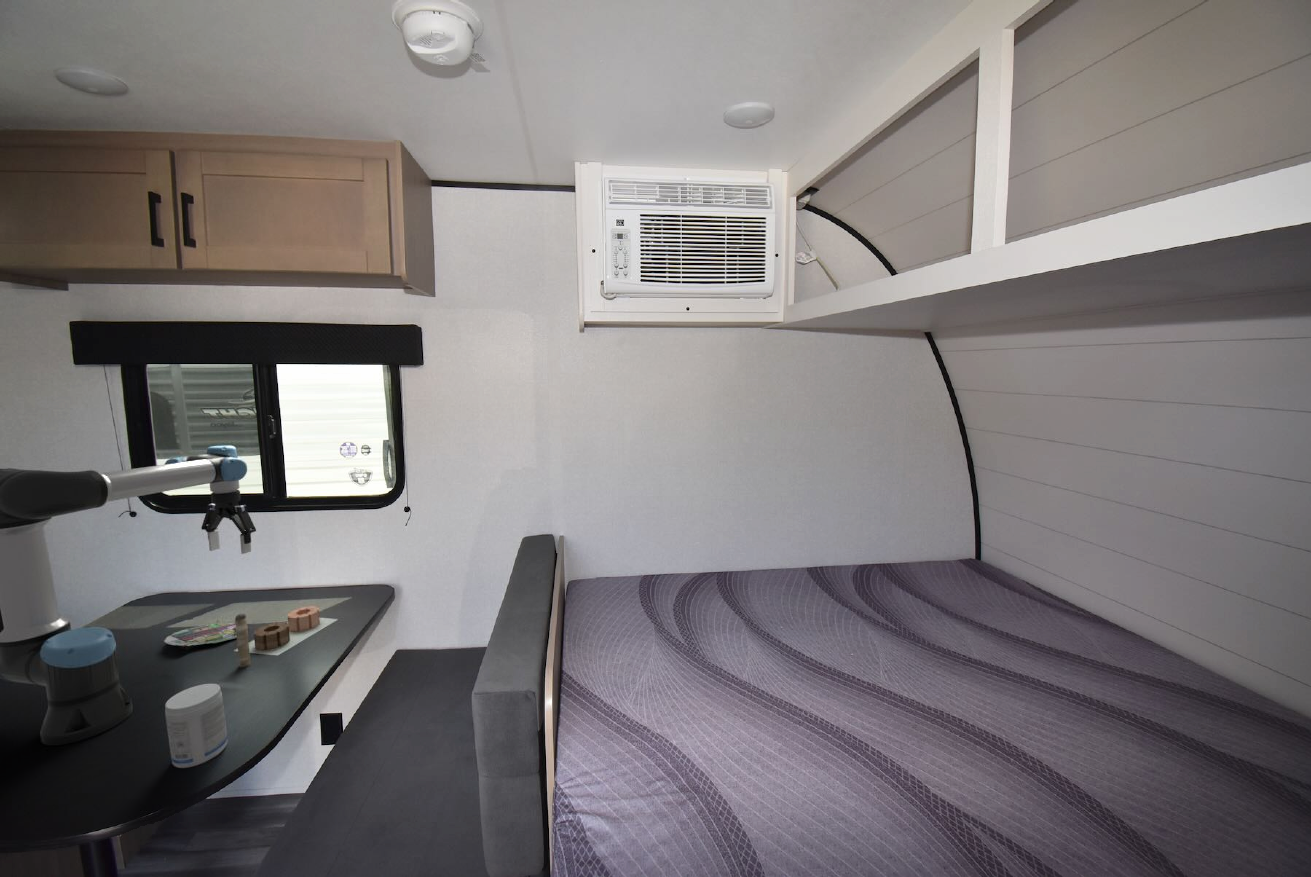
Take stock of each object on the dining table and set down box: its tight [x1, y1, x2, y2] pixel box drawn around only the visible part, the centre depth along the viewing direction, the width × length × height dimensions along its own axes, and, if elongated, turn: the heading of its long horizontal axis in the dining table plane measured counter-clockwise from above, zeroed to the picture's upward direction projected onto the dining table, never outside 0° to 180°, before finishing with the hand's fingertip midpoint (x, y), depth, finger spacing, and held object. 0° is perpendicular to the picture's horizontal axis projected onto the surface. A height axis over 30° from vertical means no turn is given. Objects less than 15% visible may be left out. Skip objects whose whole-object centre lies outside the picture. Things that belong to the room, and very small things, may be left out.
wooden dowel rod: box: [234, 613, 251, 668], centre depth 146 cm, size 3×3×17 cm
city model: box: [163, 620, 249, 651], centre depth 165 cm, size 25×23×6 cm
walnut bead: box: [253, 621, 290, 651], centre depth 159 cm, size 9×9×5 cm
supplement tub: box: [164, 683, 228, 769], centre depth 113 cm, size 10×10×15 cm
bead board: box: [233, 617, 339, 656], centre depth 165 cm, size 24×16×1 cm, turn 171°
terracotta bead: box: [287, 605, 320, 632], centre depth 171 cm, size 9×9×5 cm
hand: (230, 551), depth 169 cm, fingers open, 13 cm apart
